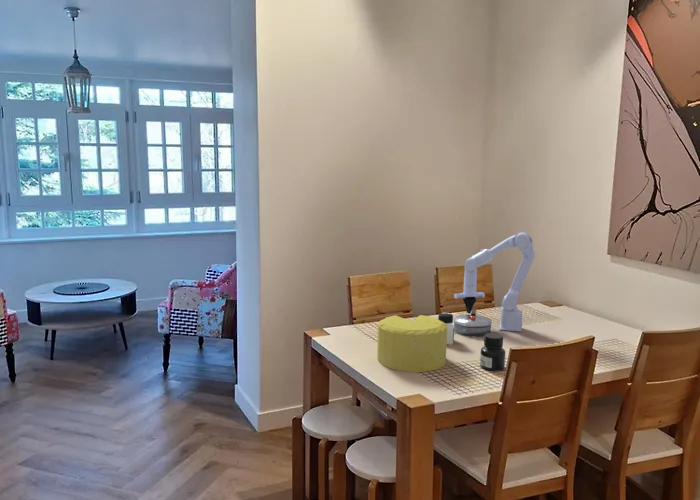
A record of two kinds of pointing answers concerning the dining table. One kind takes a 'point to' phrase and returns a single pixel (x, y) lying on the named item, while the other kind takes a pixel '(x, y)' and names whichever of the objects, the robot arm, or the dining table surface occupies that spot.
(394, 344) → the cheese
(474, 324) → the cooker lid
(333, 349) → the dining table surface
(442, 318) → the medicine bottle
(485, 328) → the cooker pot
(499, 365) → the ink bottle
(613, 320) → the dining table surface
